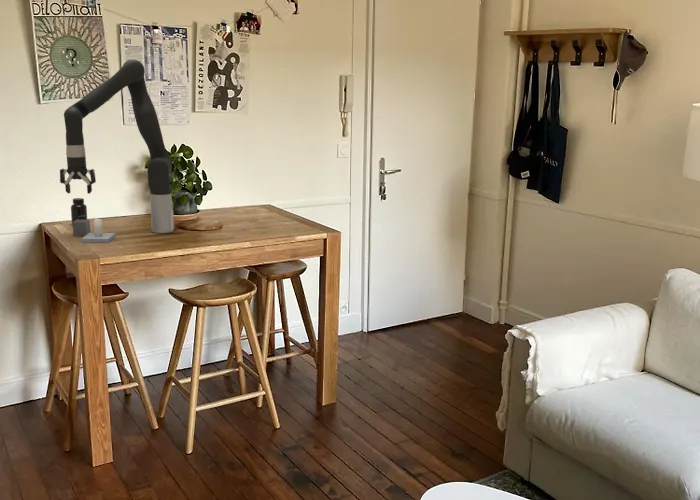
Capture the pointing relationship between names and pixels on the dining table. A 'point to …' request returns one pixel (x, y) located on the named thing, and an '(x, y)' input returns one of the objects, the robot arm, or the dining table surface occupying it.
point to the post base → (98, 239)
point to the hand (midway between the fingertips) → (79, 193)
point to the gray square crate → (81, 227)
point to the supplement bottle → (78, 210)
